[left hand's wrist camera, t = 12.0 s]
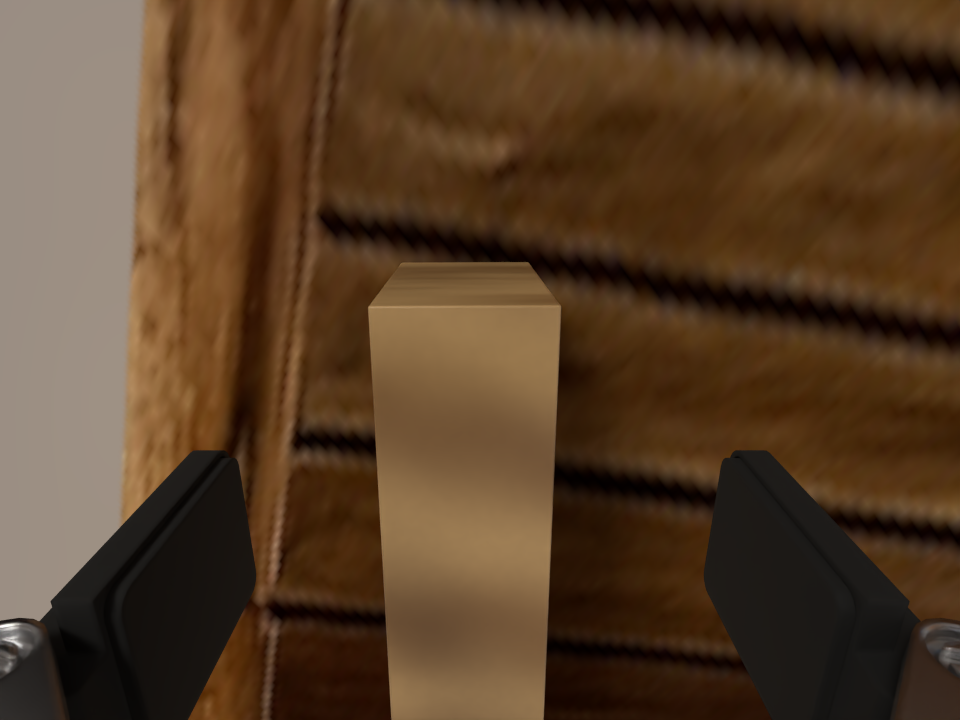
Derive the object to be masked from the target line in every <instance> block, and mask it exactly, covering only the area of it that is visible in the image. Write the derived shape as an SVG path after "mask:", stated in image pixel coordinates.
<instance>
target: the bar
mask: <svg viewBox="0 0 960 720" xmlns="http://www.w3.org/2000/svg"><path fill="white" fill-rule="evenodd" d="M368 315H369V332H370V350H371V367H372V385H373V403H374V420H375V438H376V456H377V473H378V491H379V509H380V526H381V544H382V561H383V579H384V597H385V614H386V632H387V650H388V667H389V685H390V703H391V720H544V700H545V676H546V653H547V630H548V606H549V583H550V560H551V536H552V513H553V490H554V466H555V443H556V420H557V396H558V373H559V350H560V326H561V305H560V304H559V303H558V301H557V300H556V299H555V297H554V296H553V295H552V293H551V292H550V291H549V289H548V288H547V287H546V285H545V284H544V283H543V281H542V280H541V279H540V277H539V276H538V275H537V273H536V272H535V271H534V269H533V268H532V267H531V265H530V264H529V263H528V262H441V263H401V264H400V266H399V267H398V268H397V270H396V271H395V272H394V274H393V275H392V276H391V277H390V279H389V280H388V281H387V283H386V284H385V285H384V287H383V288H382V289H381V291H380V292H379V293H378V295H377V296H376V297H375V299H374V300H373V301H372V303H371V304H370V305H369V307H368Z"/></svg>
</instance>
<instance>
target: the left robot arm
mask: <svg viewBox="0 0 960 720" xmlns="http://www.w3.org/2000/svg"><path fill="white" fill-rule="evenodd" d="M255 582H256V569H255V563H254V556H253V550H252V544H251V538H250V532H249V525H248V519H247V513H246V507H245V501H244V494H243V488H242V482H241V476H240V470H239V464H238V461H237V460H236V459H235V458H230V457H229V455H228V453H227V452H226V451H192V452H191V453H190V454H189V455H188V456H187V457H186V458H185V459H184V460H183V461H182V462H181V463H180V464H179V466H178V467H177V468H176V469H175V470H174V471H173V472H172V473H171V474H170V475H169V476H168V477H167V478H166V479H165V480H164V481H163V483H162V484H161V485H160V486H159V487H158V488H157V489H156V490H155V491H154V492H153V493H152V494H151V495H150V496H149V497H148V498H147V499H146V501H145V502H144V503H143V504H142V505H141V506H140V507H139V508H138V509H137V510H136V511H135V512H134V513H133V514H132V515H131V516H130V518H129V519H128V520H127V521H126V522H125V523H124V524H123V525H122V526H121V527H120V528H119V529H118V530H117V531H116V532H115V533H114V535H113V536H112V537H111V538H110V539H109V540H108V541H107V542H106V543H105V544H104V545H103V546H102V547H101V548H100V549H99V550H98V552H97V553H96V554H95V555H94V556H93V557H92V558H91V559H90V560H89V561H88V562H87V563H86V564H85V565H84V566H83V568H82V569H81V570H80V571H79V572H78V573H77V574H76V575H75V576H74V577H73V578H72V579H71V580H70V581H69V582H68V583H67V584H66V586H65V587H64V588H63V589H62V590H61V591H60V592H59V593H58V594H57V595H56V596H55V597H54V598H53V599H52V600H51V604H52V608H51V609H50V611H49V612H48V613H47V614H46V615H45V616H44V617H43V618H42V619H41V620H40V621H37V620H35V619H26V618H16V619H9V620H2V621H0V720H188V718H189V716H190V714H191V712H192V710H193V709H194V707H195V705H196V703H197V701H198V699H199V697H200V695H201V693H202V691H203V689H204V687H205V685H206V683H207V681H208V679H209V677H210V675H211V673H212V671H213V669H214V667H215V665H216V663H217V661H218V659H219V657H220V655H221V653H222V652H223V650H224V648H225V646H226V644H227V642H228V640H229V638H230V636H231V634H232V632H233V630H234V628H235V626H236V624H237V622H238V620H239V618H240V616H241V614H242V612H243V610H244V608H245V606H246V604H247V602H248V600H249V598H250V596H251V595H252V592H253V590H254V587H255ZM704 582H705V587H706V590H707V592H708V595H709V596H710V598H711V600H712V602H713V604H714V606H715V608H716V610H717V612H718V614H719V616H720V618H721V620H722V622H723V624H724V626H725V628H726V630H727V632H728V634H729V636H730V638H731V640H732V642H733V644H734V646H735V648H736V650H737V652H738V653H739V655H740V657H741V659H742V661H743V663H744V665H745V667H746V669H747V671H748V673H749V675H750V677H751V679H752V681H753V683H754V685H755V687H756V689H757V691H758V693H759V695H760V697H761V699H762V701H763V703H764V705H765V707H766V709H767V710H768V712H769V714H770V716H771V718H772V720H960V621H958V620H951V619H944V618H933V619H925V620H923V621H920V620H919V619H918V618H917V617H916V616H915V615H914V614H913V613H912V612H911V610H910V609H909V608H908V605H909V600H908V599H907V598H906V597H905V596H904V595H903V594H902V593H901V592H900V591H899V590H898V589H897V588H896V587H895V585H894V584H893V583H892V582H891V581H890V580H889V579H888V578H887V577H886V576H885V575H884V574H883V573H882V572H881V571H880V570H879V569H878V567H877V566H876V565H875V564H874V563H873V562H872V561H871V560H870V559H869V558H868V557H867V556H866V555H865V554H864V553H863V552H862V550H861V549H860V548H859V547H858V546H857V545H856V544H855V543H854V542H853V541H852V540H851V539H850V538H849V537H848V536H847V535H846V533H845V532H844V531H843V530H842V529H841V528H840V527H839V526H838V525H837V524H836V523H835V522H834V521H833V520H832V519H831V518H830V516H829V515H828V514H827V513H826V512H825V511H824V510H823V509H822V508H821V507H820V506H819V505H818V504H817V503H816V502H815V501H814V499H813V498H812V497H811V496H810V495H809V494H808V493H807V492H806V491H805V490H804V489H803V488H802V487H801V486H800V485H799V484H798V483H797V481H796V480H795V479H794V478H793V477H792V476H791V475H790V474H789V473H788V472H787V471H786V470H785V469H784V468H783V467H782V466H781V464H780V463H779V462H778V461H777V460H776V459H775V458H774V457H773V456H772V455H771V454H770V453H769V452H768V451H734V452H733V453H732V455H731V457H730V458H725V459H724V460H723V461H722V464H721V470H720V476H719V482H718V488H717V494H716V501H715V507H714V513H713V519H712V525H711V532H710V538H709V544H708V550H707V556H706V563H705V569H704Z"/></svg>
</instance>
